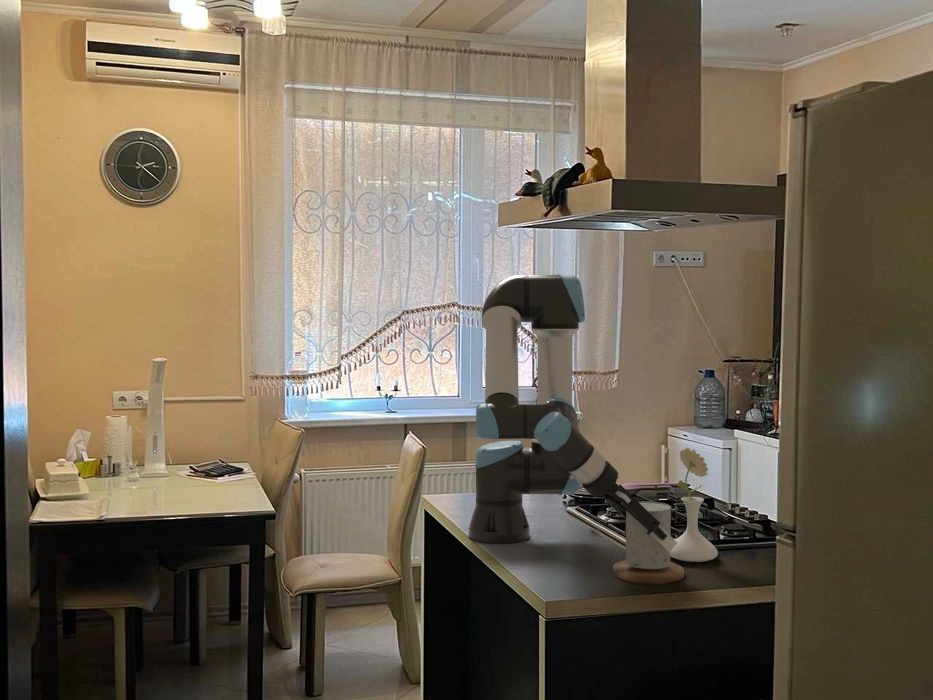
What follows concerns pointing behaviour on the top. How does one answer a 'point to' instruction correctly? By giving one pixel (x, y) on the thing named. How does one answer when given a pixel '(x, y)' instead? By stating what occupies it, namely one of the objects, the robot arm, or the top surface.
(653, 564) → the white speckled cylinder
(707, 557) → the flower in vase
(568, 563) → the top surface
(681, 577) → the walnut board
